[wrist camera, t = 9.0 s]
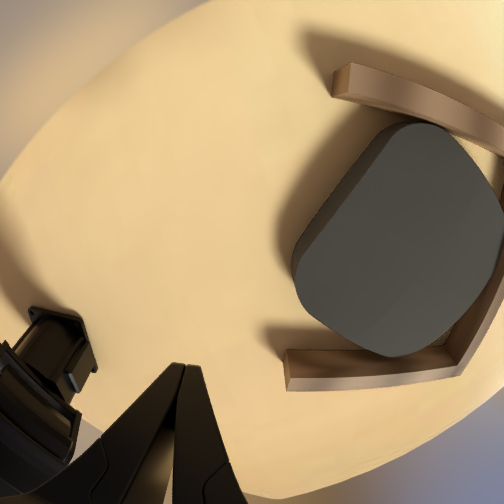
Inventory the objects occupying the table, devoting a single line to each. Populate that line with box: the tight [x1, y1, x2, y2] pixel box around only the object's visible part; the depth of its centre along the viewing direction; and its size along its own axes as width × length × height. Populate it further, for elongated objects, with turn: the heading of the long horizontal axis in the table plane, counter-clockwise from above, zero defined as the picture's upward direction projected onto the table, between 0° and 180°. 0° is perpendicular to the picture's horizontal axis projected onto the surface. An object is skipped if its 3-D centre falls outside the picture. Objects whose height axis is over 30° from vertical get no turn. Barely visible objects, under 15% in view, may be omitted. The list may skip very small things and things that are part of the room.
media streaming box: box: [291, 122, 504, 357], centre depth 17 cm, size 15×15×3 cm
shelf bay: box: [283, 62, 504, 392], centre depth 17 cm, size 18×21×3 cm
